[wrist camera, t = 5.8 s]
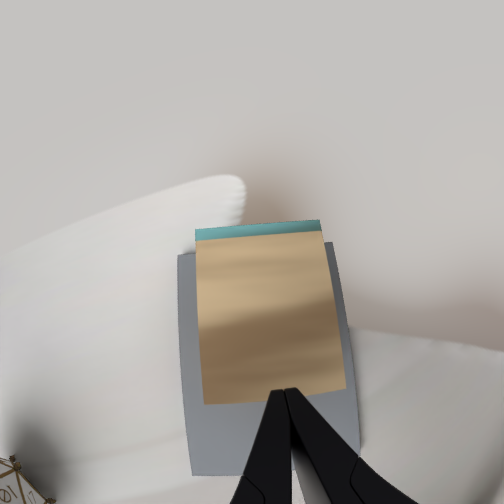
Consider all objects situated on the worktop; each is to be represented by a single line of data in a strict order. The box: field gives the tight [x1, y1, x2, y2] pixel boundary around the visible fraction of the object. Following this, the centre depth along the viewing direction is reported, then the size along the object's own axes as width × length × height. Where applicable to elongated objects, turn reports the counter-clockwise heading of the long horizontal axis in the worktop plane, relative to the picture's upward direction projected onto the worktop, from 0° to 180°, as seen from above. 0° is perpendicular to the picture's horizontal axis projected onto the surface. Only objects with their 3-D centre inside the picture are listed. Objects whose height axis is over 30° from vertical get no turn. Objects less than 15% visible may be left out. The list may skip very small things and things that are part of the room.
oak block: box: [195, 220, 346, 405], centre depth 14 cm, size 4×6×8 cm
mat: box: [177, 242, 360, 476], centre depth 16 cm, size 14×10×1 cm
